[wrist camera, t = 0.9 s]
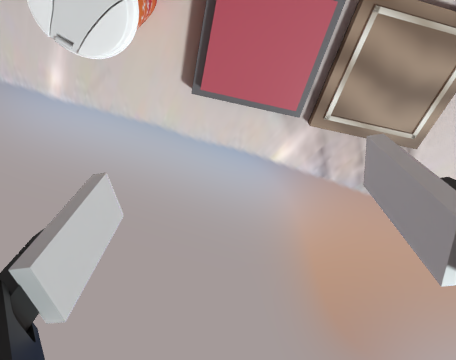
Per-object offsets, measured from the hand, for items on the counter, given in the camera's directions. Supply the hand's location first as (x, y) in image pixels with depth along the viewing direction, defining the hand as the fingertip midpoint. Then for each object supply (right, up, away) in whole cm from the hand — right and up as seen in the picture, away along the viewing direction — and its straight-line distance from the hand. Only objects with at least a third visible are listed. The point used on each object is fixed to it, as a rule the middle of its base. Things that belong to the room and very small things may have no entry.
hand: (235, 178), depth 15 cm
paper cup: (-11, +20, +16) cm, 28 cm away
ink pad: (+4, +16, +19) cm, 25 cm away
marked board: (+20, +13, +22) cm, 32 cm away
